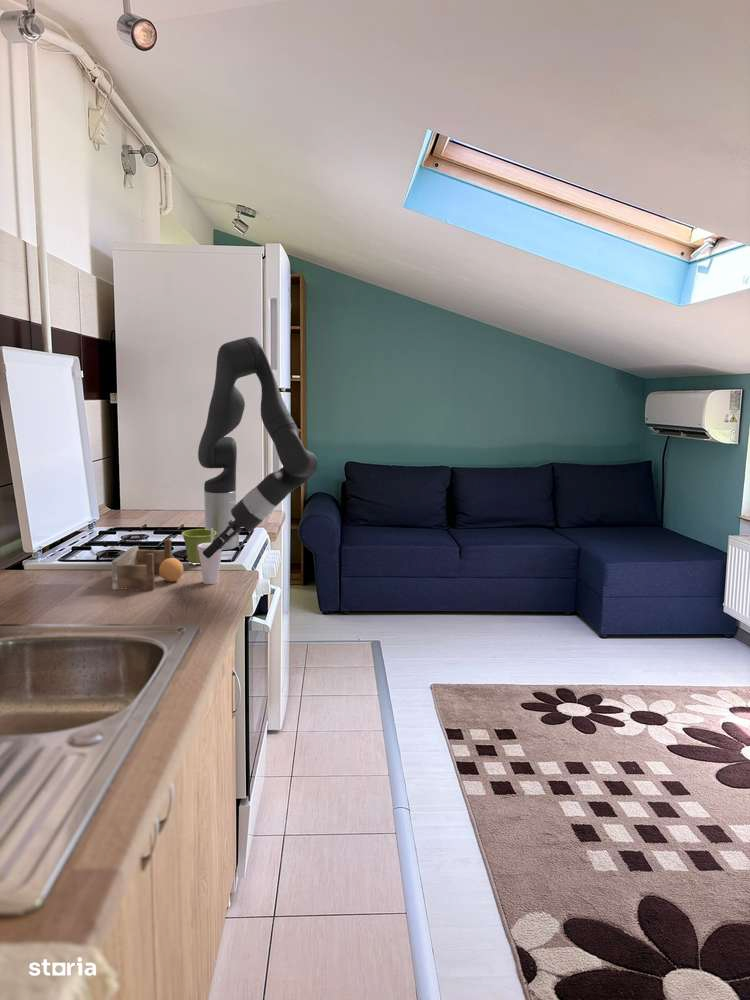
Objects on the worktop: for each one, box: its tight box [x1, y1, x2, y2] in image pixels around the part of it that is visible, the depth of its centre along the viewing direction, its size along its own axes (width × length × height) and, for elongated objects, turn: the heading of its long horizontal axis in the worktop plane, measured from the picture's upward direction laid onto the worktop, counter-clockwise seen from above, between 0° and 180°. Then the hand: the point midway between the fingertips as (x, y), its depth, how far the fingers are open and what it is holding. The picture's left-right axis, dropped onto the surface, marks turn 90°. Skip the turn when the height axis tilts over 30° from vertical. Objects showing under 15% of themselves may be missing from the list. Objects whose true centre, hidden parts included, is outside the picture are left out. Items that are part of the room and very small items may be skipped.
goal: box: [111, 538, 172, 591], centre depth 206 cm, size 10×17×9 cm, turn 179°
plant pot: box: [181, 528, 216, 563], centre depth 225 cm, size 9×9×9 cm
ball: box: [158, 557, 184, 583], centre depth 206 cm, size 6×6×6 cm
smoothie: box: [197, 528, 223, 585], centre depth 205 cm, size 6×6×14 cm
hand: (209, 551), depth 205 cm, fingers open, 8 cm apart
